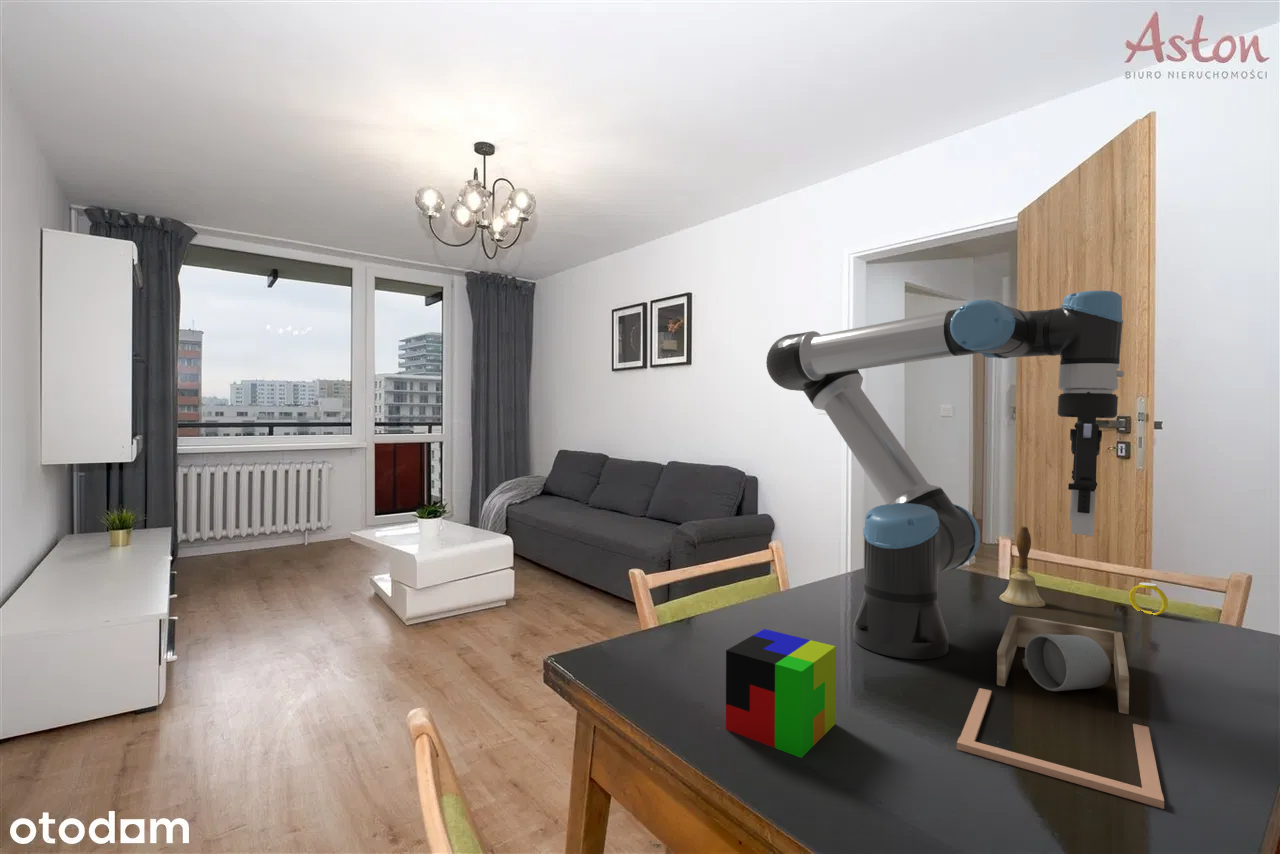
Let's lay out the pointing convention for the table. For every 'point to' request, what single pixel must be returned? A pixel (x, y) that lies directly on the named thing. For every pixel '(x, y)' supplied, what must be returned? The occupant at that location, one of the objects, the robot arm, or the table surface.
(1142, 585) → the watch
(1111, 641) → the frame
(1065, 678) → the ceramic mug
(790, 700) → the puzzle toy
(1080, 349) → the robot arm
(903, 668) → the table surface
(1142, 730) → the terracotta bay
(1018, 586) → the hand bell
